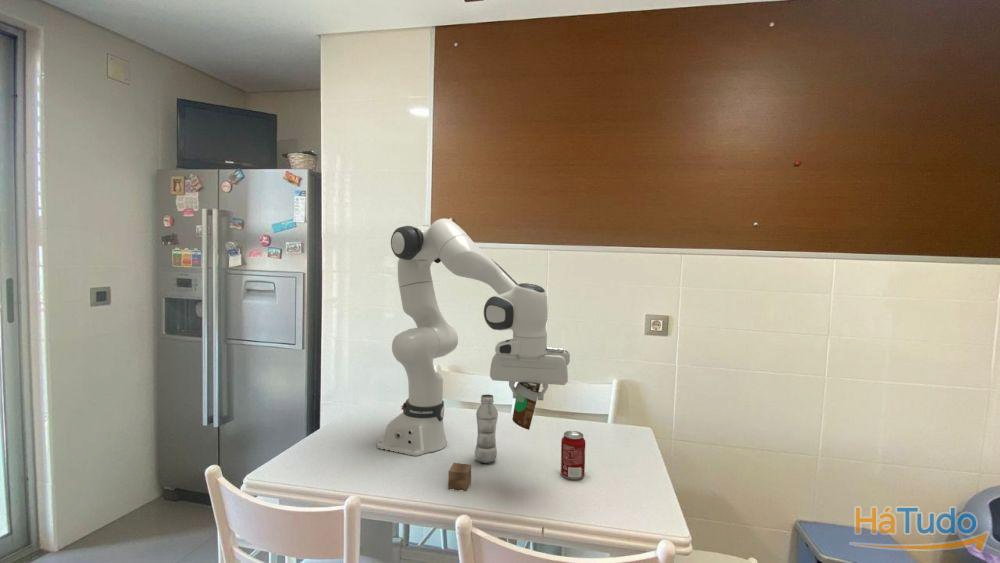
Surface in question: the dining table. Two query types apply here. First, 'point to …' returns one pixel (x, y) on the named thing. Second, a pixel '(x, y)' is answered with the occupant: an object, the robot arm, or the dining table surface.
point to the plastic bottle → (486, 430)
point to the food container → (525, 403)
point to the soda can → (573, 455)
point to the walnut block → (459, 476)
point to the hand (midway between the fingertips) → (528, 398)
